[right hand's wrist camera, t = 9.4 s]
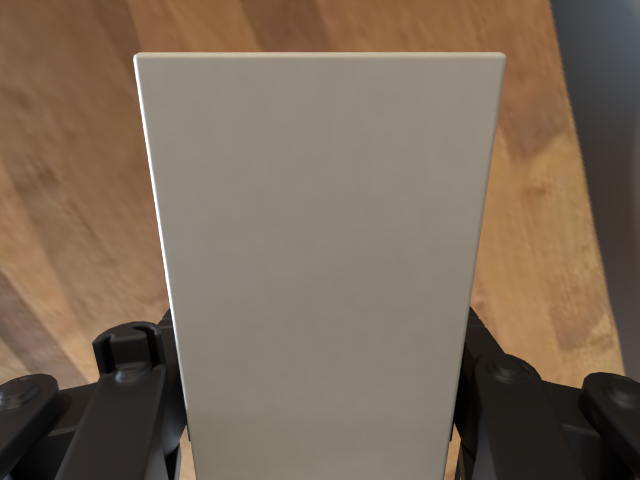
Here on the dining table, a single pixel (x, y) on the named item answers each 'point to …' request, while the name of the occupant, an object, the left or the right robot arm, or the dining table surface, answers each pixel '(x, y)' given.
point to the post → (320, 251)
